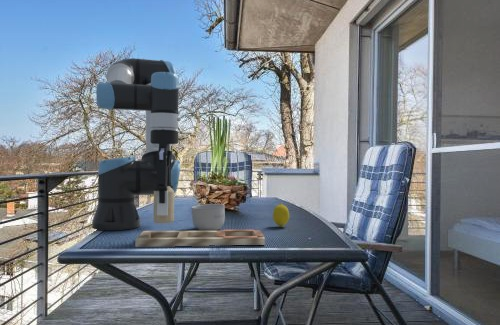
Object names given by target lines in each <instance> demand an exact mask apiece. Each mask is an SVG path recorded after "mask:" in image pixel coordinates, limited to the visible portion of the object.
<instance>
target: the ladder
mask: <svg viewBox="0 0 500 325" xmlns="http://www.w3.org/2000/svg"><path fill="white" fill-rule="evenodd" d="M209 245H265V246H266V236H264V234H263V232H262V230H255V229H223V230H215V231H200V230H143V231H142V232H141V233H140V234H139V235H138V236H137V237H136V238H135V245H134V246H135V248H153V247H154V248H157V247H159V248H165V247H166V248H167V247H168V248H169V247H173V248H174V247H175V246H192V247H210V246H209ZM175 248H176V247H175Z"/></svg>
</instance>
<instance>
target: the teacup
mask: <svg viewBox="0 0 500 325" xmlns="http://www.w3.org/2000/svg"><path fill="white" fill-rule="evenodd" d="M225 209H226V208H225V204H223V203H222V204H220V203H208V204H207V203H206V204H205V203H204V204H197V205H194V206H193V205H192V206H191V216H192V218H191V219H192V225H193V226H194V227H195V228H196V229H197V231H219V230H221V228H222V227H223V225H224V224H225V220H226V216H225V215H226V214H225V213H226V212H225V211H226V210H225Z"/></svg>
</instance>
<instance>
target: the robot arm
mask: <svg viewBox="0 0 500 325" xmlns="http://www.w3.org/2000/svg"><path fill="white" fill-rule="evenodd" d="M105 77H106V82H98V83H97V85H96V90H95V91H96V92H95V94H96V98H95V99H96V106H97V107H98V108H99V109H106V110H109V111H110V110H122V111H145V152H144V153H143V154H142V155H141V160H136V157H135V156H124V157H117V158H107V159H103V160H101V161H99V163H98V169H97V170H98V172H97V176H98V178H97V179H98V180H97V181H98V182H97V184H98V190H97V192H98V193H97V207H96V210H95V213H94V214H93V218H92V221H91V223H92V224H91V225H92V226H91V228H92V229H94V230H97V231H98V230H99V231H124V230H125V231H126V230H132V229H137V228H140V226H141V219H140V216H139V212H138V209H137V206H136V201H135V200H136V198H135V197H136V196H154V191H157V215H168V191H167V186H170V187H171V188H172V189H173V190H174V194H175V193H176V192H177V190H178V186H179V180H180V174H181V173H180V171H181V161H179V160H177V159H176V154H174V152H173V151H172V147H171V145H178V143H179V132H178V130H177V129H178V128H179V122H181V120H182V119H181V117H179V100H180V99H179V97H180V96H179V95H180V94H179V93H180V89H179V88H180V85H179V84H180V83H179V82H180V81H179V79H180V78H179V75H178V74H177V73H176V67H175V65H174V64H173V63H172V62H171V61H170V60H169V61H168V60H163V59H160V60H156V59H145V58H143V59H142V58H124V59H121V60H118V61H116V62H114V63H112V64H111V65H110V66H108V68H107V71H106V76H105Z"/></svg>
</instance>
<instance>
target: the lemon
mask: <svg viewBox="0 0 500 325" xmlns="http://www.w3.org/2000/svg"><path fill="white" fill-rule="evenodd" d="M272 219H273V222H274V223H275V224H276V225H277V226H278V227H280V228H282V227H283V226H285V225H286V224H288V222H289V220H290V211H289V208H288V207H287V206H286V205H284V204H283V203H279V204H278V205H277V206H275V207H274V209H273V213H272Z"/></svg>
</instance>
